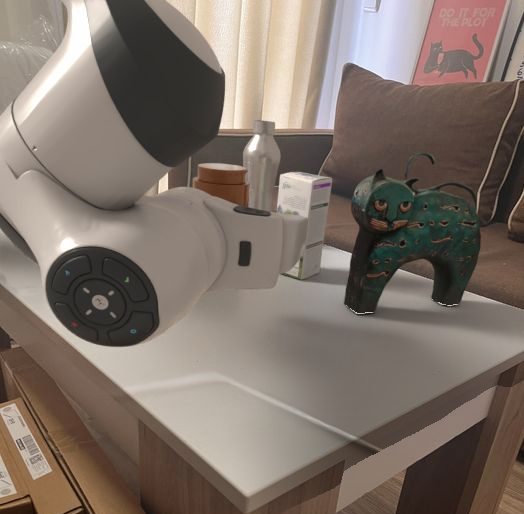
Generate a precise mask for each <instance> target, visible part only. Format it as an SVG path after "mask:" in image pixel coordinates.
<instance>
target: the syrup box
mask: <svg viewBox="0 0 524 514" xmlns="http://www.w3.org/2000/svg"><path fill="white" fill-rule="evenodd" d="M332 185H333V178H332V177H330V176H329V177H328V176H322V175H318V174H311V173H307V172H302V171H289V172H285V173H281V174H280V175H279V183H278V193H277V205H276V206H277V207H276V213H283V214H291V215H300V216H303V217H306V218H307V220H308V225H307V235H306V242H305V248H304V252H303V254H302V256H301V258H300V260H299V261H298V262H297V263H296V265H295V266H294V267H293V268H292V269H291V270H289V271H288V272H285V273H282V274H281V275H284V276H287V277H291V278H295V279H296V280H305V279H308V278H311V277H313V276H315V275H318V274H320V272H321V265H322V254H323V248H324V240H325V234H326V226H327V219H328V212H329V207H330V200H331V192H332Z"/></svg>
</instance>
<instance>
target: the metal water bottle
mask: <svg viewBox="0 0 524 514" xmlns="http://www.w3.org/2000/svg"><path fill="white" fill-rule="evenodd" d="M252 122H253V123H252V128H251V129H252V130H251V132H252V133H253V136H252V137H251V138H250V140H249V141H248V142H247V144H246V145H245V147H244V149H243V152H242V160H243V161H242V163H243V164H242V165H243V166H242V167H245V168H247V170H248V173H247V175H246V180H247V181H249V182H250V183H251V186H250V201H249V208H254V209H259V210H264V211H269V212H274V193H275V187H276V180H277V176H278V172H279V167H280V163H281V159H282V155H281V150H280V148H279V146H278V144H277V142H276V140H275V138H274V135H276V122H275V121H271V120H270V121H269V120H260V119H254V120H253V121H252Z"/></svg>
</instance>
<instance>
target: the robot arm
mask: <svg viewBox="0 0 524 514" xmlns="http://www.w3.org/2000/svg"><path fill="white" fill-rule="evenodd" d="M59 1H60V2H61V3H62V4H63V5H64V6H65V8H66V11H67V12H66V13H67V24H66V29H65V33H64V37H63V39H62V41H61V43H60V45H59V46H58V47H57V49H56V50H55V51H54V52H53V53H52V55H51V56H49V58H48V60H47V61H46V62H45V63H44V64H43V66H41V68H40V70H39V71H37V73H36V74H35V75H34V77H33V78H32V79H31V80H30V82H29V83H28V84H27V85H26V86H25V87H24V89H23V90H22V91H21V92H20V93H19V95H17V96H16V97H15V98H14V99H12V101H11V102H10V103H9V104H8V106H7V107H6V108H5V109H4V111H3V112H2V113H1V114H0V230H1V232H2V233H3V234H4V236H6V238H7V239H8V240H9V241H10V242H11V243H12V244H13V245H14V246H15V247H16V248H17V249H18V250H20V251H21V252H22V253H23V254H24V255H25V256H26V257H28V258H29V259H30V260H31V261H33V262H34V263H35V264H37V265H38V266H39V271H40V277H41V285H42V286H41V287H42V292H43V295H44V299H45V301H46V303H47V306H48V307H49V310H50V311H51V313H52V314H53V316H54V317H55V319H56V320H57V321H58V322H59V323H60V324H61V325H62V326H63V327H65V329H66V330H67V331H68V332H70V333H71V334H72V335H74V336H75V337H77V338H79V339H81V340H83V341H84V342H88V343H90V344H93V345H95V346H96V345H97V346H100V347H105V348H106V347H107V348H128V347H135V346H138V345H141V344H142V345H143V344H145V343H148V342H151V341H152V340H154V339H156V338H158V337H160V336H161V335H163V334H164V333H167V331H169V330H171V328H172V327H174V326H175V325H176V324H178V323H179V321H181V320H182V319H183V318H184V317H185V316H186V314H188V313H189V311H191V309H192V308H193V307H194V306H195V305H196V304H197V303H198V302H199V300H200V299H201V297H202V295H203V294H209V293H215V292H221V291H229V290H271V289H274V288H275V287H276V286H277V284H278V282H279V281H278V280H279V277H280V275H283V274H282V273H285V272H288V271H289V270H291V269H292V268H293V267H294V266H295V265H296V263H297V262H298V261H299V260H300V258H301V256H302V254H303V252H304V248H305V242H306V235H307V225H308V220H307V218H306V217H303V216H300V215H291V214H283V213H277V211H275V212H274V211H273V212H269V211H264V210H259V209H254V208H249V207H246V206H241V205H237V204H234V203H231V202H229V201H226V200H224V199H221V198H218V197H215V196H211V195H210V194H208V193H206V192H204V191H202V190H199V189H196V188H193V187H191V186H178V187H173V188H169V189H166V190H164V191H162V192H160V193H156V194H155V195H146V194H147V193H148V192H150V190H151V189H152V188H153V187H154V186H155V185H156V184H158V182H160V181H161V180H162V179H163V178H164V177H165V176H166V175H167V174H168V173H169V172H170V171H172V170H173V168H177V167H179V166H180V165H182V164H183V163H184V162H186V161H187V160H188V159H190V158H191V157H192V156H194V155H195V154H197V152H199V151H201V150H202V149H203V148H204V147H205V146H207V145H208V144H209V143H211V142H212V141H213V140H215V139H217V137H218V135H219V132H220V127H221V123H222V120H223V113H224V108H225V97H226V73H225V71H224V69H223V67H222V66H221V64H220V61H219V59H218V57H217V55H216V53H215V52H214V50H213V47H212V46H211V44H209V41H208V40H207V39H206V37H205V36H204V35H203V33H202V32H201V31H200V30H199V29H198V28H197V27H196V25H194V23H193V22H192V21H191V20H190V19H189V18H187V16H186V15H184V13H182V12H181V11H180V10H179V9H178V8H177V7H175V6H173V5H172V3H170V2H168V1H167V0H59Z"/></svg>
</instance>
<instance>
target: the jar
mask: <svg viewBox="0 0 524 514" xmlns="http://www.w3.org/2000/svg"><path fill="white" fill-rule="evenodd" d="M247 173H248V170H247V168H245V167H244V166H241V165H237V164H229V163H219V162H216V163H215V162H207V163H200V164H199V163H198V164H197V176H194V177H193V178H192V188H196V189H199V190H202V191H204V192H206V193H208V194H210V195H211V196H215V197H218V198H221V199H224V200H226V201H229V202H231V203H234V204H237V205H241V206H246V207H249V201H250V186H251V183H250V182H249V181H247V180H246V175H247Z"/></svg>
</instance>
